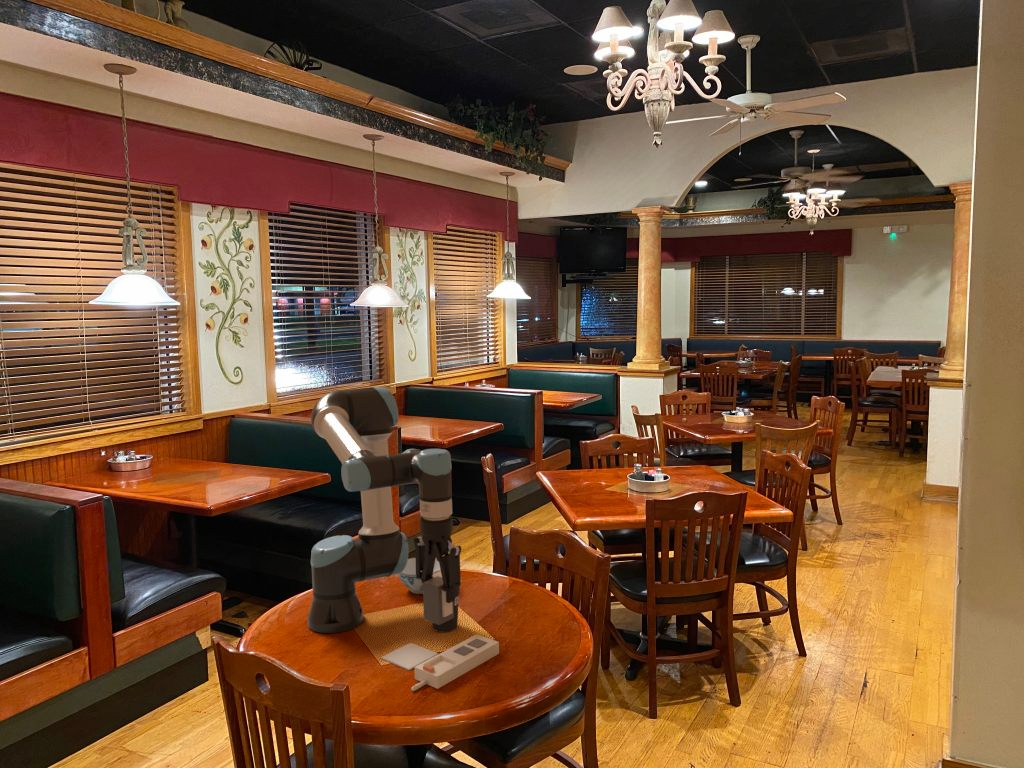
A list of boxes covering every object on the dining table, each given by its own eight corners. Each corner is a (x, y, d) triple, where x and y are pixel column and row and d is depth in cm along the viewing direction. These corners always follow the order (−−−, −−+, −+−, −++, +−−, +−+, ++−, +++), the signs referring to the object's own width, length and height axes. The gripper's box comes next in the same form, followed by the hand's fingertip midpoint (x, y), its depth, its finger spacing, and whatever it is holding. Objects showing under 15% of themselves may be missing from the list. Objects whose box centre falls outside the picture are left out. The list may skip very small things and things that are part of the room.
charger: (423, 619, 180) (422, 582, 179) (438, 612, 184) (437, 575, 183) (439, 625, 177) (438, 587, 176) (453, 617, 181) (453, 580, 180)
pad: (381, 658, 191) (381, 657, 191) (410, 644, 199) (410, 642, 198) (408, 670, 185) (408, 668, 184) (437, 655, 192) (437, 653, 192)
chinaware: (397, 601, 227) (397, 576, 226) (395, 583, 242) (394, 559, 241) (448, 596, 230) (447, 571, 229) (442, 578, 245) (441, 555, 244)
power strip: (423, 697, 172) (422, 681, 172) (400, 686, 177) (400, 671, 176) (499, 653, 193) (498, 639, 192) (476, 645, 197) (476, 631, 197)
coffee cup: (457, 636, 203) (456, 581, 201) (423, 633, 205) (421, 579, 203) (466, 621, 212) (465, 568, 211) (433, 618, 214) (432, 567, 212)
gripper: (397, 513, 180) (400, 607, 183) (453, 527, 169) (455, 627, 172) (420, 505, 186) (423, 597, 189) (475, 519, 175) (477, 616, 177)
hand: (438, 611), depth 180 cm, fingers closed on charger, 5 cm apart
